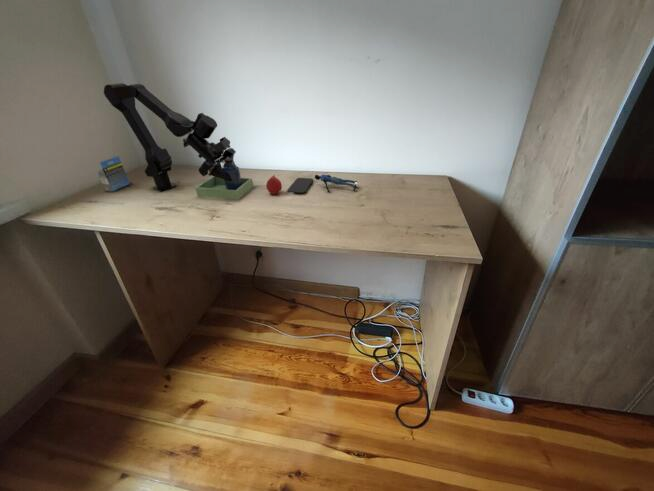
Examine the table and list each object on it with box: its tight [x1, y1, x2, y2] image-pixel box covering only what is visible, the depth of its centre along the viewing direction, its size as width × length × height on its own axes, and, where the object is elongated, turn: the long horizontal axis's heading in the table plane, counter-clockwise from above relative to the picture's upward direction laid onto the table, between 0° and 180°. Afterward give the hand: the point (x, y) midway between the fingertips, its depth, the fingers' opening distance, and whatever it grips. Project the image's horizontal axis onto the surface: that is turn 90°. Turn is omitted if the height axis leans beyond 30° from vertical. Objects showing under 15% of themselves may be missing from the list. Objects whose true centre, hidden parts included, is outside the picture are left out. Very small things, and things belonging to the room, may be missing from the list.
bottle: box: [222, 158, 242, 190], centre depth 114 cm, size 6×6×13 cm
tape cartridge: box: [97, 155, 131, 193], centre depth 122 cm, size 9×4×12 cm, turn 164°
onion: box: [265, 174, 283, 196], centre depth 113 cm, size 6×6×8 cm
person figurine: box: [314, 174, 359, 193], centre depth 119 cm, size 11×4×18 cm
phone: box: [286, 177, 314, 195], centre depth 122 cm, size 7×1×15 cm
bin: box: [194, 176, 254, 201], centre depth 117 cm, size 17×13×4 cm
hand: (235, 177), depth 114 cm, fingers closed on bottle, 6 cm apart
